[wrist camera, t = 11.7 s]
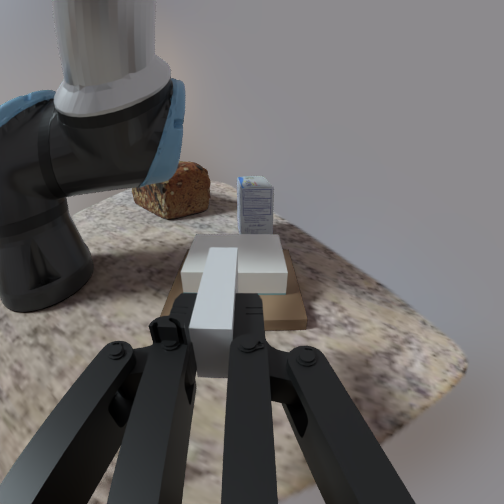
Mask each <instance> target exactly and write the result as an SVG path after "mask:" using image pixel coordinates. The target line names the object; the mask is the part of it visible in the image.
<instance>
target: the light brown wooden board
mask: <svg viewBox="0 0 504 504" xmlns="http://www.w3.org/2000/svg"><path fill="white" fill-rule="evenodd" d="M189 250H190V249H188V250H187V252H186V255H185V257H184V259H183V261H182V264H181V266H180V269H179V271H178V273H177V276H176V278H175V281H174V283H173V285H172V288H171V290H170V293H169V295H168V298H167V300H166V303H165V305H164V308H163V310H162V313H161V315H160V317H162V316H169V314H170V311H171V308H172V306H173V303H174V300H175V299H176V298H177V297H178V296H179V295H180V294H181V293H183V286H182V279H181V270H182V267H183V265H184V262H185V260H186V257H187V255H188V253H189ZM283 255H284V259H285V263H286V267H287V272H288V276H287V288H286V295H259V296H260V297H261V299H262V302H263V315H264V328H265V330H306V326H307V320H308V319H307V315H306V311H305V308H304V304H303V300H302V296H301V293H300V289H299V286H298V282H297V278H296V275H295V271H294V268H293V264H292V261H291V257H290V254H289V250H283Z"/></svg>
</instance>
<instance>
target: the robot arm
mask: <svg viewBox="0 0 504 504" xmlns="http://www.w3.org/2000/svg"><path fill="white" fill-rule="evenodd" d="M52 4H53V15H54V23H55V31H56V37H57V44H58V49H59V54H60V60H61V65H62V70H63V74H64V80H63V81H62V83H61V84H60V86H59V88H58V90H57V91H56V92H55V91H52V90H42V91H36V92H32V93H29V94H28V95H25V96H19V97H17V98H14V99H12V100H10V101H8V102H6V103H4V104H2V105H0V298H1V300H2V303H3V304H4V306H5V307H7V308H8V309H10V310H13V311H20V312H26V311H34V310H39V309H42V308H45V307H48V306H51V305H53V304H56V303H58V302H60V301H62V300H64V299H66V298H67V297H69V296H70V295H72V294H73V293H75V292H76V291H77V290H79V289H80V288H81V287H82V286H83V285H84V284H85V283H86V282H87V281H88V279H89V278H90V276H91V274H92V272H93V262H92V258H91V254H90V251H89V248H88V247H87V245H86V244H85V243H84V242H83V239H82V237H81V236H80V234H79V232H78V230H77V228H76V226H75V224H74V222H73V220H72V218H71V216H70V214H69V210H68V205H67V199H66V197H69V196H75V195H82V194H88V193H96V192H103V191H110V190H118V189H127V188H136V187H137V188H138V187H139V188H141V187H144V186H145V185H150V184H155V183H161V182H165V181H167V180H169V179H170V178H172V177H173V175H174V174H175V172H176V170H177V167H178V163H179V159H180V153H181V146H182V137H183V125H182V124H183V122H184V114H185V86H184V83H183V82H182V81H180V80H176V79H173V78H171V69H170V66H169V65H168V63H166V62H165V61H164V60H163V59H161V58H160V57H158V56H157V55H155V12H156V11H155V10H156V0H52ZM149 329H150V333H151V337H152V340H153V345H151V346H148V347H143V348H137V349H133V348H132V347H131V345H130V344H129V343H127V342H124V341H114V342H111V343H109V344H107V345H106V346H105V347H104V348H103V349H102V350H101V351H100V352H99V353H98V355H97V356H96V357H95V358H94V359H93V361H92V362H91V363H90V364H89V365H88V367H87V368H86V369H85V370H84V372H83V373H82V374H81V375H80V377H79V378H78V379H77V380H76V382H75V383H74V384H73V385H72V387H71V388H70V389H69V390H68V392H67V393H66V394H65V395H64V397H63V398H62V399H61V401H60V402H59V403H58V404H57V406H56V407H55V408H54V410H53V411H52V412H51V414H50V415H49V416H48V417H47V419H46V420H45V421H44V423H43V424H42V426H41V427H40V428H39V430H38V431H37V432H36V434H35V435H34V436H33V438H32V439H31V441H30V442H29V443H28V445H27V446H26V448H25V449H24V450H23V452H22V453H21V455H20V456H19V458H18V459H17V460H16V462H15V463H14V465H13V466H12V468H11V469H10V471H9V472H8V474H7V475H6V477H5V478H4V480H3V481H2V483H1V485H0V504H87V503H88V502H89V500H90V498H91V496H92V494H93V493H94V491H95V489H96V487H97V486H98V484H99V482H100V480H101V479H102V477H103V475H104V473H105V472H106V470H107V468H108V467H109V465H110V463H111V461H112V460H113V458H114V456H115V454H116V453H117V451H118V449H119V448H120V451H119V455H118V459H117V463H116V467H115V471H114V475H113V479H112V483H111V488H110V492H109V496H108V501H107V504H182V496H183V487H184V478H185V469H186V461H187V453H188V445H189V437H190V429H191V422H192V415H193V408H194V401H195V394H196V381H195V376H196V370H197V375H198V377H208V378H228V383H227V399H226V416H225V434H224V452H223V473H222V495H221V504H278V497H277V481H276V465H275V450H274V435H273V420H272V406H271V401H275V402H279V403H282V406H283V408H284V411H285V413H286V415H287V418H288V420H289V422H290V425H291V427H292V429H293V432H294V434H295V436H296V439H297V441H298V443H299V446H300V448H301V450H302V452H303V455H304V457H305V459H306V461H307V464H308V466H309V468H310V470H311V473H312V475H313V477H314V479H315V482H316V484H317V486H318V488H319V490H320V493H321V495H322V497H323V499H324V501H325V503H326V504H415V502H414V500H413V499H412V497H411V495H410V494H409V492H408V491H407V489H406V487H405V485H404V484H403V482H402V480H401V479H400V477H399V476H398V474H397V472H396V471H395V469H394V467H393V466H392V464H391V462H390V461H389V459H388V458H387V456H386V454H385V453H384V451H383V449H382V448H381V446H380V444H379V443H378V441H377V440H376V438H375V436H374V435H373V433H372V431H371V430H370V428H369V427H368V425H367V423H366V422H365V420H364V419H363V417H362V415H361V414H360V412H359V410H358V409H357V407H356V406H355V404H354V402H353V401H352V399H351V398H350V396H349V394H348V393H347V391H346V389H345V388H344V386H343V385H342V383H341V381H340V380H339V378H338V377H337V375H336V373H335V372H334V370H333V369H332V367H331V365H330V364H329V362H328V361H327V359H326V357H325V356H324V354H323V353H322V352H321V351H320V350H318V349H316V348H314V347H311V346H299V347H296V348H294V349H293V350H291V351H290V352H284V351H280V350H277V349H275V348H273V347H271V346H270V345H269V344H268V342H267V341H266V338H265V328H264V315H263V302H262V299H261V297H260V296H259V295H258V293H238V248H218V247H210V249H209V253H208V256H207V260H206V264H205V267H204V271H203V275H202V279H201V282H200V286H199V290H198V293H181V294H180V295H179V296H178V297H177V298H176V299H175V300H174V303H173V306H172V308H171V311H170V314H169V316H162V317H159V318H156V319H155V320H153V321H152V322H151V323H150V325H149ZM120 446H121V447H120Z"/></svg>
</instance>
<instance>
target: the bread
mask: <svg viewBox="0 0 504 504" xmlns="http://www.w3.org/2000/svg"><path fill="white" fill-rule="evenodd" d="M132 193H133V197H134V201H135V203H136V204H138V205H139V206H141V207H143V208H144V209H147V210H148V211H150V212H151V213H154V214H156V215H157V216H160V217H161V218H166V219H174V218H179V217H184V216H187V215H191V214H195V213H199V212H203V211H205V210H206V209H207V208H208V204H209V199H210V179H209V176H208V171H207V170H206V169H205V168H203V167H202V166H200V165H199V164H197V163H194V162H183V161H179V163H178V167H177V170H176V172H175V174H174V175H173V177H172V178H170V179H169V180H167V181H165V182H161V183H155V184H150V185H145V186H144V187H141V188H139V187H138V188H137V187H136V188H132Z"/></svg>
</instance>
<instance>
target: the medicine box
mask: <svg viewBox="0 0 504 504" xmlns="http://www.w3.org/2000/svg"><path fill="white" fill-rule="evenodd" d="M273 198H274V188H273V187H272V185H271V184H270V183H269V182H268V181H267V180H266V178H265V177H263V176H246V177H238V179H237V216H238V229H239V233H240V234H273Z"/></svg>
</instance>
